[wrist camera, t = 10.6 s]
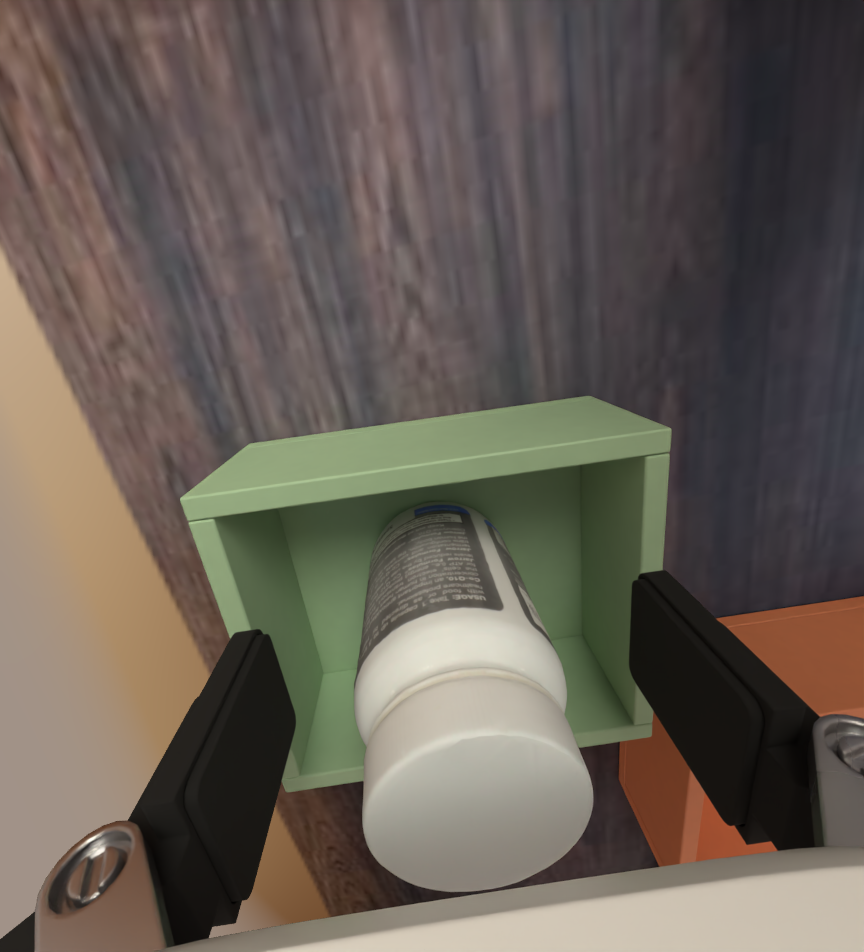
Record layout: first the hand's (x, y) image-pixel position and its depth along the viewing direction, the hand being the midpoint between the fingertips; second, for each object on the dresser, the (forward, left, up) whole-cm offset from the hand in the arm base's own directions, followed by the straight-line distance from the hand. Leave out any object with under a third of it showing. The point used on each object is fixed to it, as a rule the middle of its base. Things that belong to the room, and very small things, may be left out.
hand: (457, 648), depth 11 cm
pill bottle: (0, 0, -5) cm, 5 cm away
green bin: (0, 0, -5) cm, 5 cm away
